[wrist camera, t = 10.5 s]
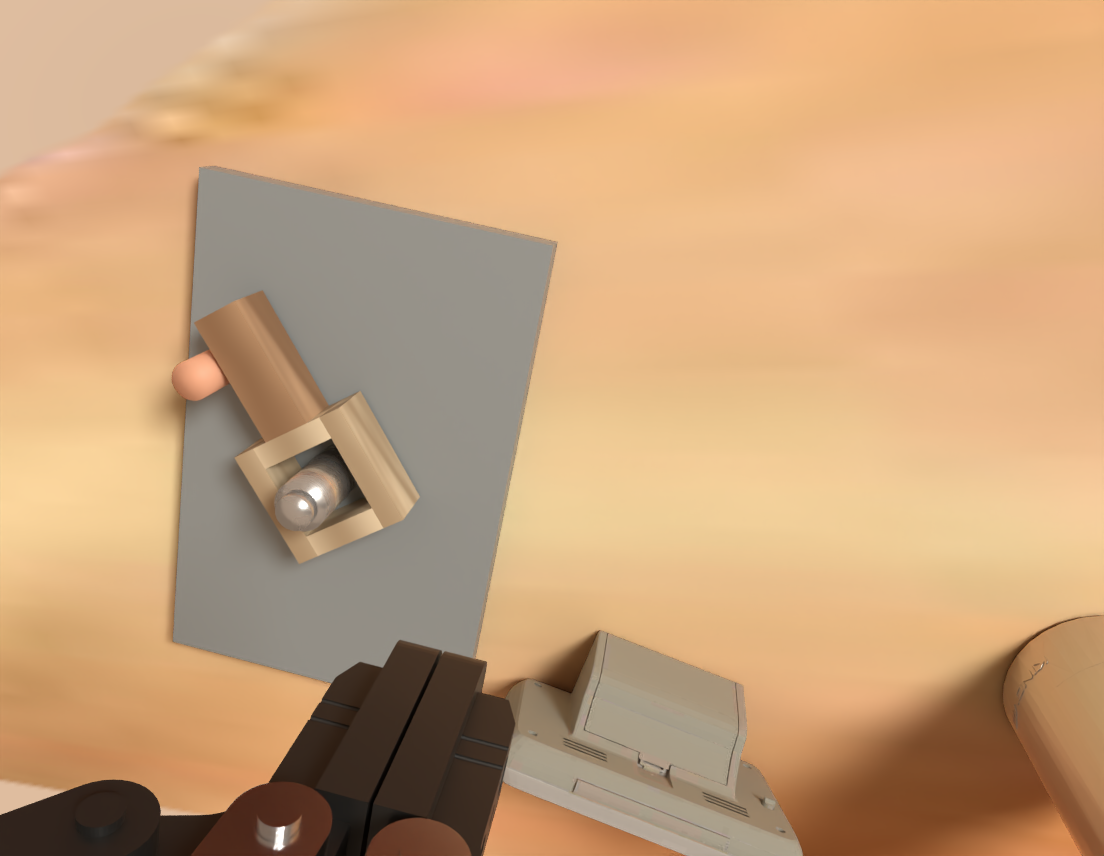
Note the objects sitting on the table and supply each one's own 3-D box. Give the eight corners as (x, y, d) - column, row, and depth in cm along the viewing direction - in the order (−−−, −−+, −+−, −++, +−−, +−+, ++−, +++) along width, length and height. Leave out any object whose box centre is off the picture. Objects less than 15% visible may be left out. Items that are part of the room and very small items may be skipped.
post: (367, 449, 47) (321, 495, 41) (361, 493, 48) (316, 544, 42) (321, 438, 47) (269, 482, 41) (316, 482, 48) (264, 531, 42)
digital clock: (494, 688, 53) (449, 818, 43) (571, 578, 50) (542, 691, 40) (721, 824, 54) (729, 983, 44) (811, 724, 51) (842, 871, 41)
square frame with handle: (294, 273, 44) (267, 283, 42) (419, 496, 47) (403, 519, 45) (193, 326, 46) (161, 339, 43) (321, 539, 49) (299, 564, 46)
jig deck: (557, 242, 44) (553, 245, 42) (466, 701, 53) (460, 717, 52) (214, 166, 45) (199, 167, 44) (186, 628, 55) (172, 641, 53)
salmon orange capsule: (250, 347, 46) (211, 366, 43) (247, 382, 47) (209, 404, 43) (214, 338, 46) (172, 357, 43) (211, 374, 47) (170, 395, 43)
